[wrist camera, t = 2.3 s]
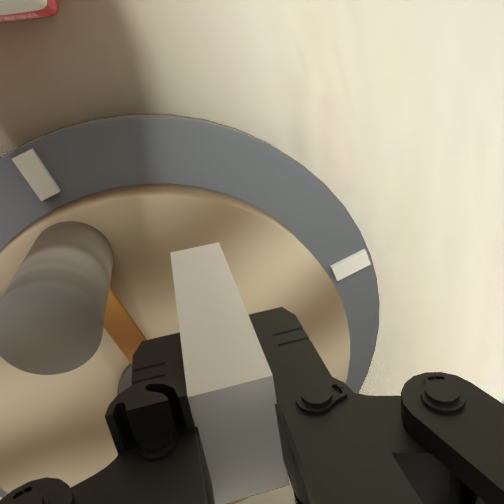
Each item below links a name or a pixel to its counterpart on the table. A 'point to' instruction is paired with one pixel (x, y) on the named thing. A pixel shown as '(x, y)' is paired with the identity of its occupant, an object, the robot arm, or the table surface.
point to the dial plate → (203, 175)
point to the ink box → (26, 9)
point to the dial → (127, 311)
